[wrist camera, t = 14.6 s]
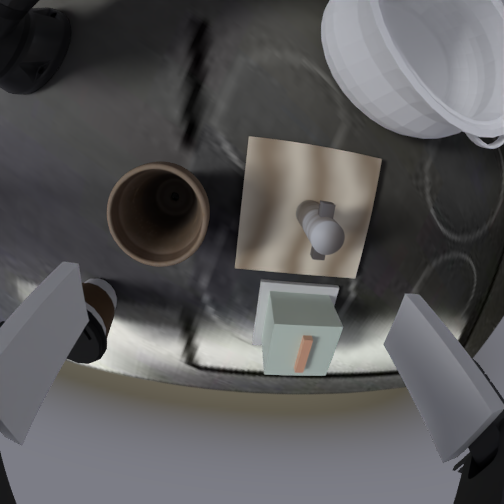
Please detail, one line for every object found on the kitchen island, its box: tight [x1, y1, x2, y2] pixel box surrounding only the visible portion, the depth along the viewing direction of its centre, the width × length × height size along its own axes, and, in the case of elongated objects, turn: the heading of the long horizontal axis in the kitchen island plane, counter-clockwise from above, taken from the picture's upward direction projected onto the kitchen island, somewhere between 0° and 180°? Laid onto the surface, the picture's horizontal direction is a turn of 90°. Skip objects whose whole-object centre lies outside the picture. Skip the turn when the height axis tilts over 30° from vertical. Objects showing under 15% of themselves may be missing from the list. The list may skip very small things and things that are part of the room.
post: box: [235, 136, 382, 278], centre depth 35 cm, size 18×18×11 cm
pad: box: [252, 279, 339, 345], centre depth 46 cm, size 12×12×1 cm
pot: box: [321, 0, 504, 149], centre depth 23 cm, size 26×24×17 cm
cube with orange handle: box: [262, 291, 343, 375], centre depth 41 cm, size 9×9×9 cm
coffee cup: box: [67, 278, 117, 364], centre depth 39 cm, size 11×11×12 cm
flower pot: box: [107, 162, 210, 266], centre depth 34 cm, size 12×11×10 cm
